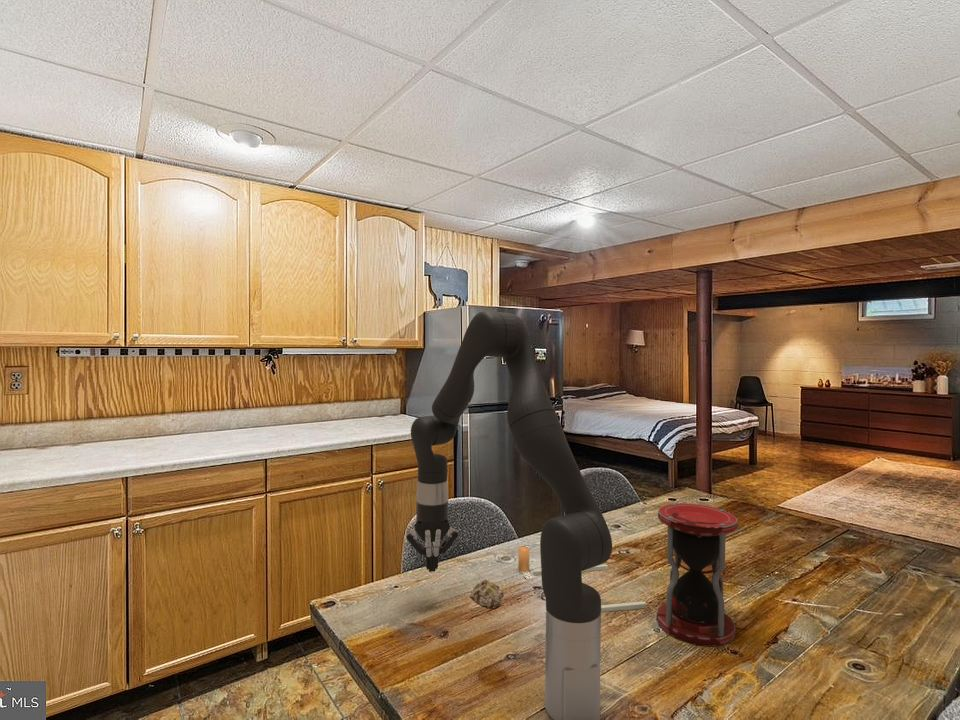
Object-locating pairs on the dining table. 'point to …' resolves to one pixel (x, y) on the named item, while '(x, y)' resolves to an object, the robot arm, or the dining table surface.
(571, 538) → the robot arm
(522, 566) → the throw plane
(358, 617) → the dining table surface
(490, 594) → the mineral rock
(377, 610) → the dining table surface
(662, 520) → the hourglass
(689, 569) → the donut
